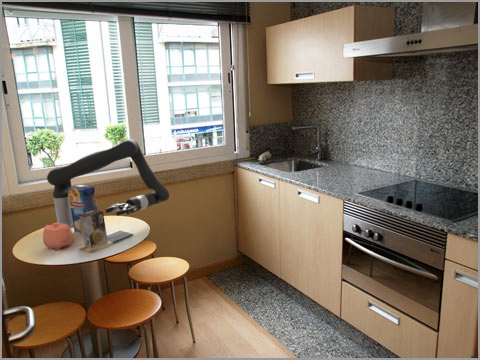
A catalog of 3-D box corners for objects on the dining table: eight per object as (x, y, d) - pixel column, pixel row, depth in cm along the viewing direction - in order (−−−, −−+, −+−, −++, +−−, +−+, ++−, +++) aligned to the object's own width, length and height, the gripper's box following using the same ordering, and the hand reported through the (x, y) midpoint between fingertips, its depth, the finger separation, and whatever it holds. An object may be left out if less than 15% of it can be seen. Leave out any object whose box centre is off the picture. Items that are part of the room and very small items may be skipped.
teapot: (37, 247, 191) (33, 224, 188) (60, 238, 201) (56, 216, 198) (61, 255, 180) (57, 230, 178) (83, 245, 190) (80, 222, 187)
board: (79, 248, 187) (78, 246, 186) (120, 232, 205) (120, 230, 205) (91, 253, 181) (91, 251, 180) (132, 235, 199) (132, 233, 199)
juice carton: (100, 229, 211) (94, 186, 205) (89, 234, 205) (82, 190, 199) (85, 226, 217) (78, 184, 211) (74, 231, 210) (67, 188, 205)
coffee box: (100, 239, 194) (96, 208, 190) (108, 242, 190) (103, 210, 186) (83, 246, 187) (78, 214, 183) (91, 249, 183) (86, 216, 179)
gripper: (127, 195, 209) (101, 203, 197) (145, 198, 201) (119, 207, 189) (129, 208, 211) (103, 217, 199) (146, 212, 203) (121, 221, 190)
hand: (111, 212), depth 194 cm, fingers open, 8 cm apart
